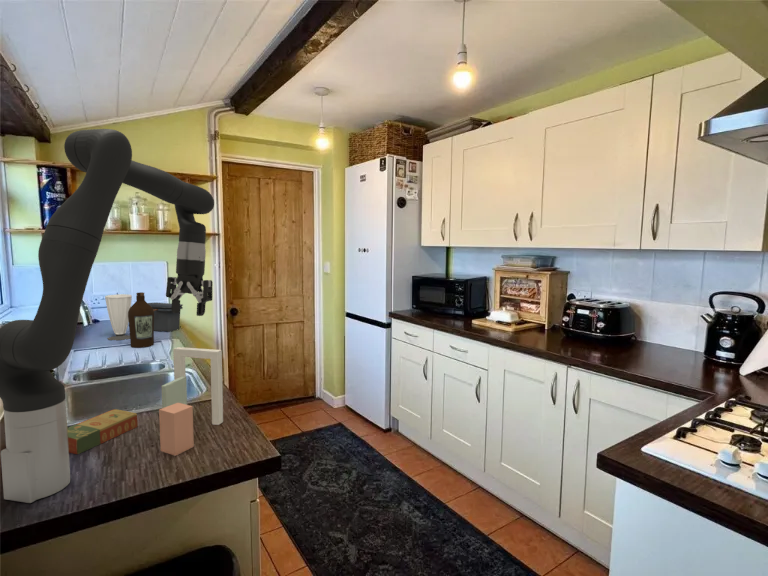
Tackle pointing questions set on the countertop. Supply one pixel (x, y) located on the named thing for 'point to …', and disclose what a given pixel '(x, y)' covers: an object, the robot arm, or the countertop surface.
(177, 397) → the door
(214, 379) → the door frame
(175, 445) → the block
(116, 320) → the cup
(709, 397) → the countertop surface
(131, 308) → the olive oil
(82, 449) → the carton
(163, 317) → the storage bin
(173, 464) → the countertop surface
